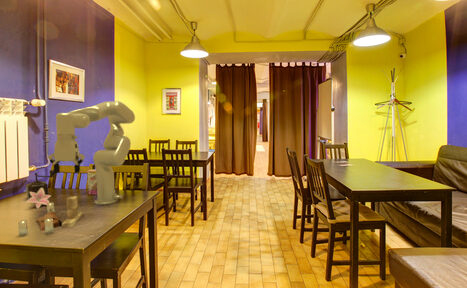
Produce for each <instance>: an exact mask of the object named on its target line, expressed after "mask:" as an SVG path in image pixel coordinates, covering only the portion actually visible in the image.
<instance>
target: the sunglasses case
mask: <svg viewBox="0 0 467 288" xmlns="http://www.w3.org/2000/svg"><path fill="white" fill-rule="evenodd" d="M54 212H55V211H54ZM54 212H53V211H50V212H49V213H48V212H47V213H46V214H45V215H43V216H41V217H39V218H38V219H36V220H35V222H36V223H37V224H38V226H39V228H40V231H45V221H44V220H45V219H48V218H53V229H55V228H59V227H60V228H61V227H62V223H63V222H62V220H61V219H60V218H59V216H58V215H57V214H56V213H54Z"/></svg>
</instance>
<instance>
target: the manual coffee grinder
mask: <svg viewBox="0 0 467 288" xmlns="http://www.w3.org/2000/svg"><path fill="white" fill-rule="evenodd" d="M55 175H56V173H54V169H50V170H49V175H38V172H35V173H34V177H35V180H34V181H32V182H30V183H25V186H26V188H25V189H26V199H27V200H28V199H30V198H31V197H32V196H31V194H30V192H34V193H37V192H38V191H39V190H40V188H43V189H44V192H45V195H49V189H48V183H47V182H46V181H41V180H39V179H38V177H39V178H51V179H52V178H53V177H55ZM27 200H26V201H27Z"/></svg>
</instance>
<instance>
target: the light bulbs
mask: <svg viewBox="0 0 467 288" xmlns="http://www.w3.org/2000/svg"><path fill="white" fill-rule="evenodd" d="M46 209H47V213H49V212H50V211H53V212H54V213H55V203H54V202H50V203H47V205H46ZM55 214H56V213H55ZM44 221H45V230H44V231H45V232H44V233H45V235H51V234H53V233H54V232H55V231H54V229H55V228H53V218H48V219H45V220H44ZM17 227H18V236H19V237H20V236H21V237H26V236H27V235H29V232H28V221H27V220H26V219H24V220H20V221H18V222H17Z"/></svg>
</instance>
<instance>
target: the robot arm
mask: <svg viewBox="0 0 467 288" xmlns="http://www.w3.org/2000/svg"><path fill="white" fill-rule="evenodd" d="M106 118H107V119H108V123H109V128H110V129H109V132H108V133H107V136H106V138H105V139H104V142H103V145H102V146H103V149H100V150H98V151H96V152H95V153H94V154H93V157H92V158H93V163H94V167H95V170H96V179H97V195H96V196H97V197H96V198H97V199H95V200H94V204H95V205H99V206H102V205H111V204H115V203H116V202H118V201H119V199H123V195H122V194H117V192H116V191H115V172H114V170H113V168H112V167H120V166H122V165H123V164H124V162H125V160H126V159H127V156H128V154H129V151H130V149H131V140H130V138H129V137H128V136H126V135H124V134H125V132H124V128H123V127H122V125H125V124H132V123H133V122H135V120H136V116H135V113H134V111H133V110H131V108H130V107H128V106H127V105H126V104H125V103H123V102H122V101H119V100H117V101H115V100H112V101H111V100H110V101H103V102H101V103H97V104H95V105H92V106H89V107H83V108H80V109H75V110H74V109H73V110H71V111H68V112H58V113H57V114H56V116H55V120H56V125H55V127H56V141H55V144H54V147H53V148H54V151H53V153H52V154H49V155H48V156H47V158H48V160H49V162H50V164H52V166H53V170H54V173H55V174H58V173H60V172H61V171H60V170H61V169H60V164H59V163H60V162H73V163H74V167H73V168H74V174H79V173H80V171H81V165H82V163H83V162H84V160H85V158H86V156H85V154H82V153H80V149H79V144H78V141H77V140H76V139H78V135H76V133H75V131H76V129H85V128H88V126H90V124H91V123H93V122H99V121H101V120H103V119H106Z"/></svg>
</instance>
